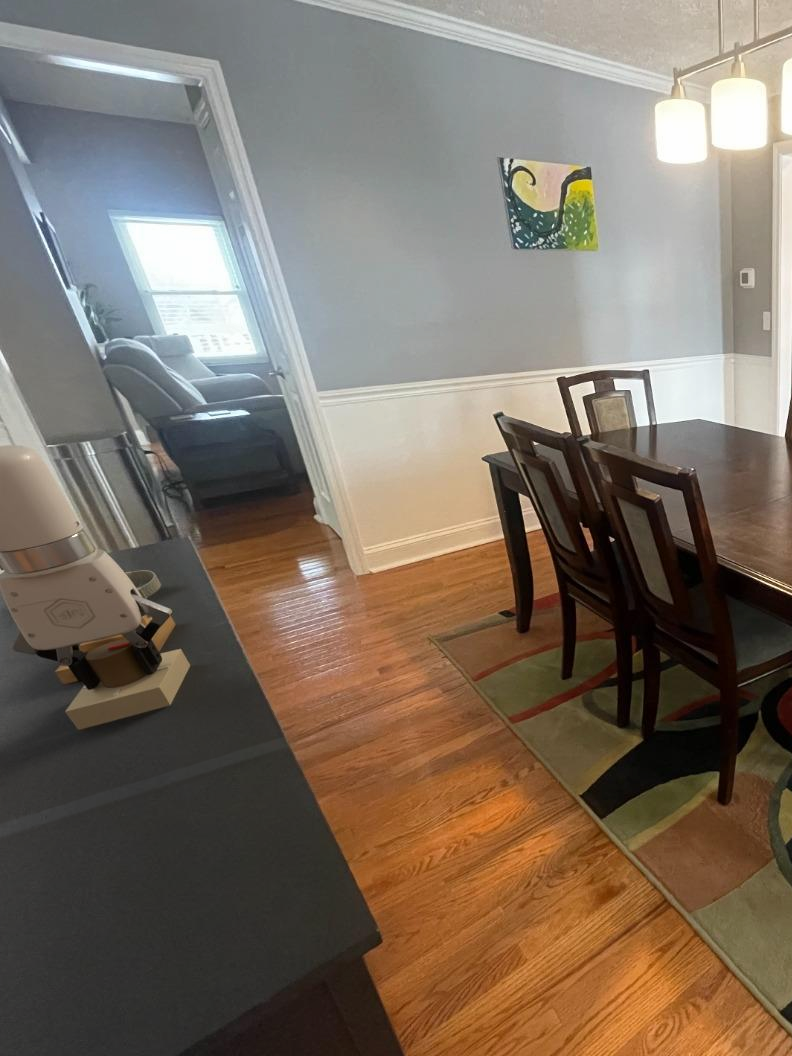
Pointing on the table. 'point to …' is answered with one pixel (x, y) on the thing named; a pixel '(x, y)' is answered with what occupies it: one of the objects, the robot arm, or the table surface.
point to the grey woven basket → (144, 577)
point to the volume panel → (130, 694)
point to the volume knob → (115, 664)
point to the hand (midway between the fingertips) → (125, 675)
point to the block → (158, 640)
